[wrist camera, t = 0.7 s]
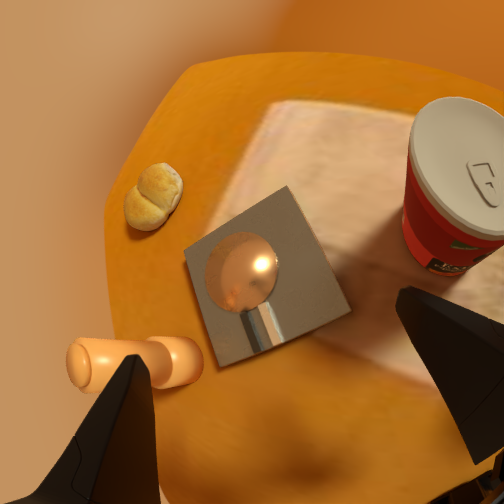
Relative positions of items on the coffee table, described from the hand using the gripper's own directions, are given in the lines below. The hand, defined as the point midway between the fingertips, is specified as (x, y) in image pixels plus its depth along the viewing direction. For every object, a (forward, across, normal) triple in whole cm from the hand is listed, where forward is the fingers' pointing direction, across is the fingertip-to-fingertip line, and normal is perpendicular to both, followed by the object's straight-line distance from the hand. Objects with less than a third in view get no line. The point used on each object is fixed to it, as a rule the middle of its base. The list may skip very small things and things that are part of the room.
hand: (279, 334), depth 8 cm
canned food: (+8, -16, +3) cm, 18 cm away
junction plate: (+14, -2, +8) cm, 16 cm away
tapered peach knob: (+13, +7, +15) cm, 21 cm away
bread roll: (+29, +8, +3) cm, 30 cm away
